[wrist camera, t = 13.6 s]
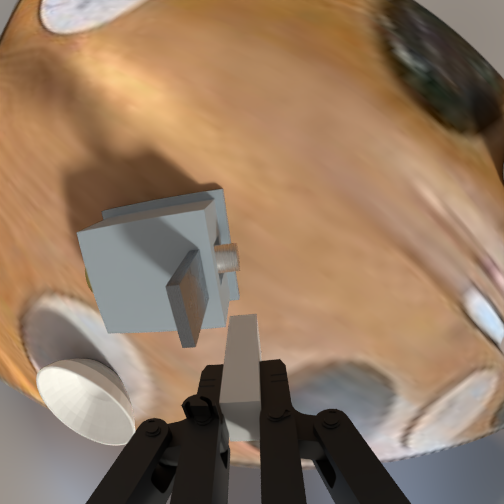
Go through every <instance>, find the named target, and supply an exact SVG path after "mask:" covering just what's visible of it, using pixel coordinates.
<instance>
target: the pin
mask: <svg viewBox="0 0 504 504" xmlns="http://www.w3.org/2000/svg"><path fill="white" fill-rule="evenodd" d="M214 251H215V257H216V263H217V268H218V273H226V272H234V271H240V261H239V253H238V247H237V243H230V244H222V245H214ZM85 275H86V281H87V284H88V286H89V288H90V290H91V291H92V292H93V290H92V287H91V284H90V280H89V277H88V274H87V270H86V267H85Z"/></svg>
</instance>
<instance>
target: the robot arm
mask: <svg viewBox="0 0 504 504" xmlns="http://www.w3.org/2000/svg"><path fill="white" fill-rule="evenodd" d="M182 408H183V410H184V413H185V415H186V419H184V420H182V421H179V422H175V423H170V424H167V423H166V422H165V421H164V420H161V419H158V418H152V419H148V420H146V421H144V422H143V423H142V424H141V425H140V426H139V427H138V428H137V430H136V431H135V433H134V434H133V436H132V437H131V439H130V440H129V442H128V443H127V445H126V446H125V447H124V449H123V451H122V452H121V453H120V455H119V456H118V458H117V459H116V461H115V462H114V463H113V465H112V466H111V468H110V469H109V471H108V472H107V474H106V475H105V476H104V478H103V479H102V481H101V482H100V484H99V485H98V487H97V488H96V489H95V491H94V492H93V494H92V495H91V497H90V498H89V500H88V501H87V502H86V504H166V502H167V500H168V498H169V496H170V495H171V493H172V495H171V501H170V504H228V482H229V466H230V448H229V445H228V444H229V438H230V441H254V440H260V462H261V503H262V504H307V503H306V495H305V488H304V481H303V473H302V466H301V459H300V458H303V459H311V460H312V461H313V463H314V465H315V467H316V469H317V471H318V473H319V474H320V476H321V478H322V480H323V482H324V484H325V486H326V487H327V489H328V491H329V493H330V495H331V497H332V499H333V500H334V502H335V504H411V503H410V502H409V500H408V499H407V498H406V496H405V495H404V493H403V492H402V491H401V489H400V488H399V487H398V486H397V484H396V483H395V481H394V480H393V479H392V477H391V476H390V474H389V473H388V472H387V470H386V469H385V468H384V466H383V465H382V463H381V462H380V461H379V459H378V458H377V457H376V455H375V454H374V452H373V451H372V450H371V448H370V447H369V446H368V444H367V443H366V441H365V440H364V439H363V437H362V436H361V434H360V433H359V432H358V430H357V429H356V427H355V426H354V425H353V423H352V422H351V420H350V419H349V418H348V416H347V415H346V414H345V413H344V412H343V411H340V410H338V409H327V410H323V411H321V412H319V413H318V414H317V415H316V416H315V415H307V414H302V413H300V412H298V411H297V410H295V409H294V407H293V406H292V403H291V398H290V391H289V385H288V378H287V372H286V365H285V364H284V363H283V362H282V361H281V360H280V359H277V360H267V361H262V360H261V347H260V338H259V330H258V321H257V314H249V315H237V316H230V319H229V326H228V334H227V342H226V350H225V358H224V364H221V365H207V366H206V367H205V368H204V370H203V371H202V373H201V377H200V382H199V387H198V392H197V394H196V395H193V396H190V397H188V398H187V399H186V400H185V401H184V402H183V404H182Z"/></svg>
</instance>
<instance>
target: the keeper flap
mask: <svg viewBox="0 0 504 504" xmlns="http://www.w3.org/2000/svg"><path fill="white" fill-rule="evenodd" d="M165 287H166V291H167V295H168V299H169V303H170V306H171V310H172V314H173V317H174V321H175V324H176V328H177V331H178V334H179V338H180V341H181V344H182V347H183V348H189V347H196V344H197V340H198V337H199V333H200V330H201V326H202V322H203V319H204V315H205V312H206V308H207V305H208V301H209V295H208V290H207V285H206V280H205V275H204V270H203V265H202V260H201V255H200V249H198V250H191V251H188V253H187V254H186V256H185V257H184V259H183V260H182V262H181V263H180V265H179V266H178V268H177V269H176V271H175V272H174V274H173V275H172V277H171V278H170V280H169V281H168V283H167V284H166V286H165Z"/></svg>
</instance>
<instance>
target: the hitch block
mask: <svg viewBox="0 0 504 504" xmlns="http://www.w3.org/2000/svg"><path fill="white" fill-rule="evenodd" d="M102 216H103V221H101V222H98V223H96V224H94V225H92V226H90V227H87V228H85V229H83V230H81V231H79V232H77V236H78V241H79V245H80V249H81V252H82V256H83V260H84V263H85V267H86V270H87V274H88V277H89V280H90V284H91V287H92V290H93V293H94V296H95V299H96V302H97V305H98V308H99V311H100V313H101V316H102V319H103V321H104V324H105V327H106V329H107V332H108V333H140V332H163V331H177V328H176V324H175V321H174V317H173V314H172V310H171V306H170V303H169V299H168V295H167V291H166V287H165V286H166V284H167V283H168V281H169V280H170V278H171V277H172V275H173V274H174V272H175V271H176V269H177V268H178V266H179V265H180V263H181V262H182V260H183V259H184V257H185V256H186V254H187V253H188V251H191V250H198V249H200V255H201V260H202V265H203V270H204V275H205V280H206V285H207V290H208V295H209V301H208V305H207V308H206V312H205V315H204V319H203V322H202V326H201V329H208V328H219V327H226V321H227V314H228V307H229V301H231V300H239V298H240V295H239V289H238V283H237V277H236V271H234V272H226V273H218V268H217V263H216V257H215V251H214V245H222V244H230V243H231V239H230V232H229V225H228V219H227V212H226V205H225V198H224V191H223V189H216V190H209V191H203V192H197V193H191V194H185V195H179V196H173V197H168V198H162V199H157V200H151V201H146V202H141V203H136V204H131V205H126V206H122V207H117V208H112V209H108V210H104V211H102Z"/></svg>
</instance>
